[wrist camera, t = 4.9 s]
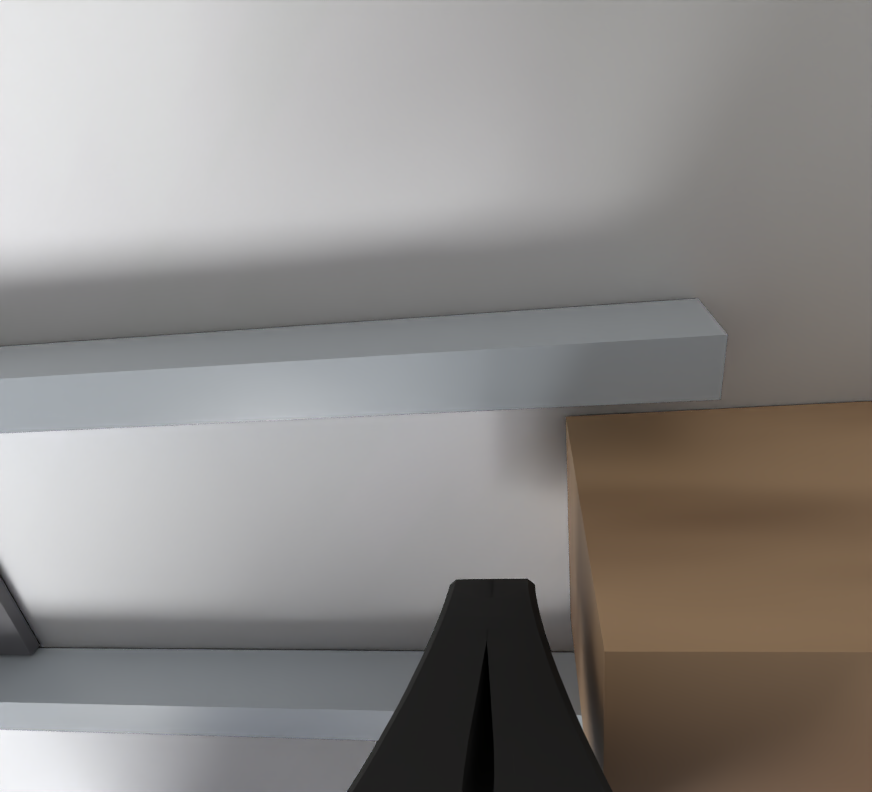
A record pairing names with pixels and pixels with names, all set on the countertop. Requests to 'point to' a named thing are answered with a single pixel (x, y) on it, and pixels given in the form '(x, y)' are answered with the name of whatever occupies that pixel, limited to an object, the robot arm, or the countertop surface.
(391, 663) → the channel
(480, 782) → the robot arm
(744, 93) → the countertop surface
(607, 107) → the countertop surface
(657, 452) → the brown rectangular block
